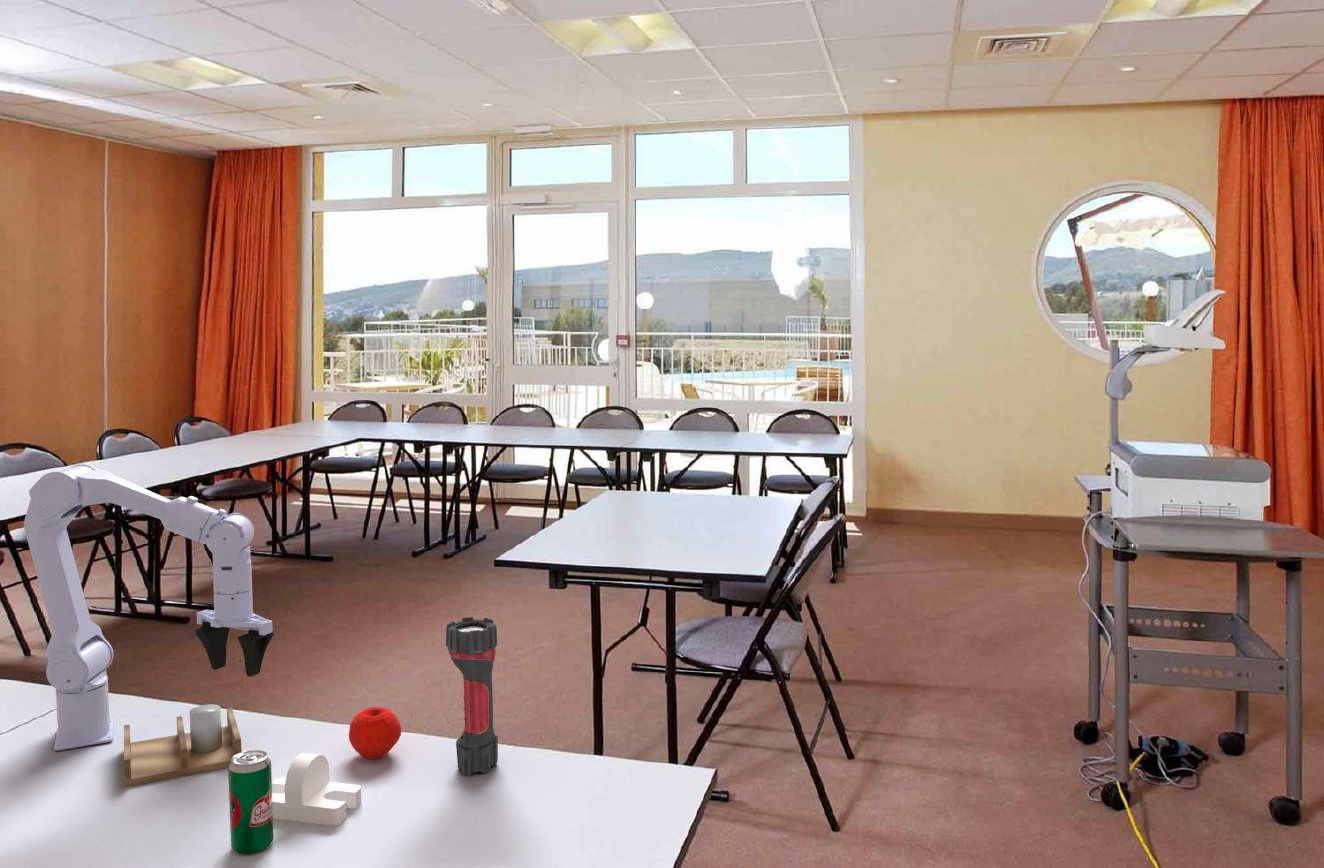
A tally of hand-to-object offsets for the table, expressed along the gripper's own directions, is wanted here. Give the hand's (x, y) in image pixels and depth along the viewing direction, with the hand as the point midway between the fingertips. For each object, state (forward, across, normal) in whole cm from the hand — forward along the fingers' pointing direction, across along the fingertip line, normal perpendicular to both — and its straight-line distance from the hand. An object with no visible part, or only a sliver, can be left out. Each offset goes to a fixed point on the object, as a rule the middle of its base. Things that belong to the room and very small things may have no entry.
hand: (235, 671), depth 158 cm
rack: (+10, 0, -10) cm, 15 cm away
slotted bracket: (+11, +29, -15) cm, 34 cm away
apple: (+11, +26, +3) cm, 28 cm away
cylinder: (+9, +2, -8) cm, 12 cm away
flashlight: (+11, +43, +5) cm, 44 cm away
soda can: (+11, +30, -25) cm, 40 cm away
